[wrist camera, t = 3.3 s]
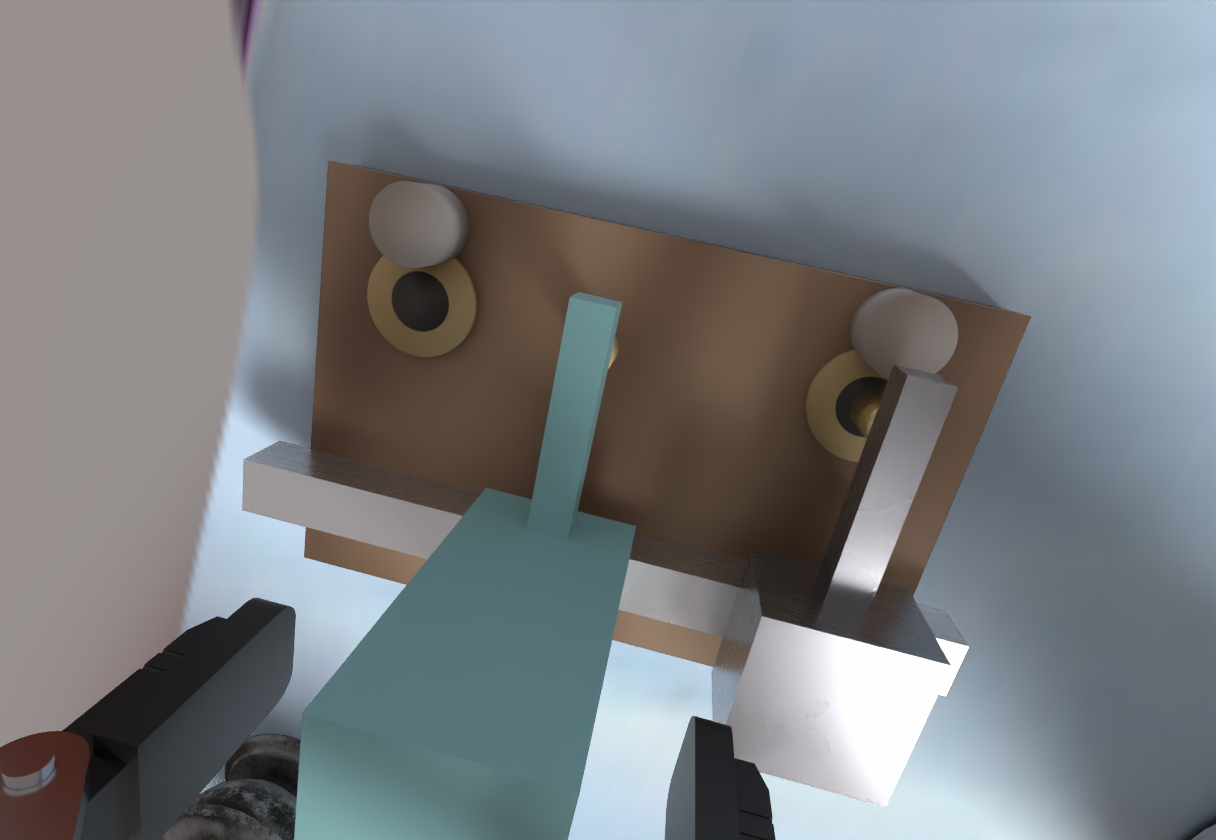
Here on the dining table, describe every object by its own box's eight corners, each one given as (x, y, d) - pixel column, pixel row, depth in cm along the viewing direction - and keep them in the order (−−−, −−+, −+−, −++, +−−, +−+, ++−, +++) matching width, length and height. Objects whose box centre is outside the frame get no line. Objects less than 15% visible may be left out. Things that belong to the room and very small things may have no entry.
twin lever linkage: (1002, 308, 17) (1064, 326, 14) (854, 674, 20) (878, 746, 18) (358, 166, 18) (293, 155, 15) (330, 535, 22) (274, 582, 19)
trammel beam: (1046, 385, 16) (1179, 447, 11) (910, 689, 19) (974, 831, 14) (289, 212, 17) (148, 208, 13) (276, 522, 20) (158, 604, 16)
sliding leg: (689, 306, 16) (676, 414, 7) (611, 623, 19) (530, 983, 10) (534, 271, 16) (327, 330, 7) (481, 589, 19) (289, 908, 10)
